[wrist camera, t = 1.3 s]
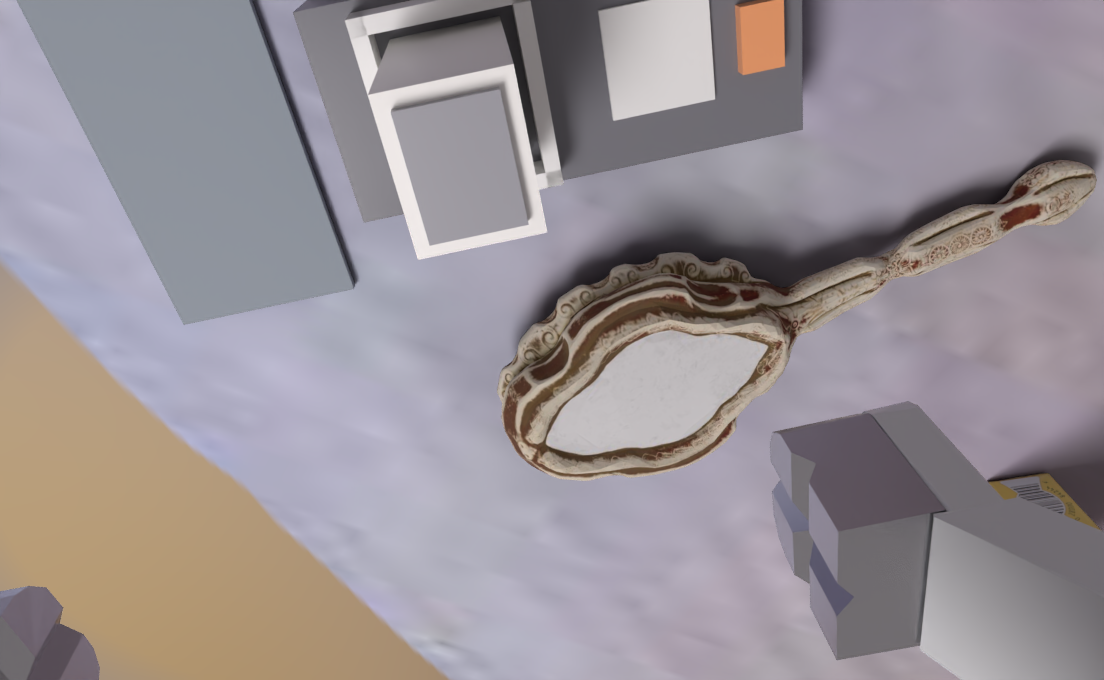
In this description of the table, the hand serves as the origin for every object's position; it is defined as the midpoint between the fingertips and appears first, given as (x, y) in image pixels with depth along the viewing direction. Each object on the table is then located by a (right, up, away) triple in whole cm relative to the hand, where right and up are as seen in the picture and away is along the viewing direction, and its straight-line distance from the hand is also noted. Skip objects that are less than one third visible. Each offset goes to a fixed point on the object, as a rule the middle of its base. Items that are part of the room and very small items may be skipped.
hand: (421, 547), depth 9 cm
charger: (-2, +11, +20) cm, 23 cm away
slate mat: (-13, +11, +23) cm, 28 cm away
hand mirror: (+13, +5, +30) cm, 33 cm away
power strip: (+2, +14, +23) cm, 26 cm away
